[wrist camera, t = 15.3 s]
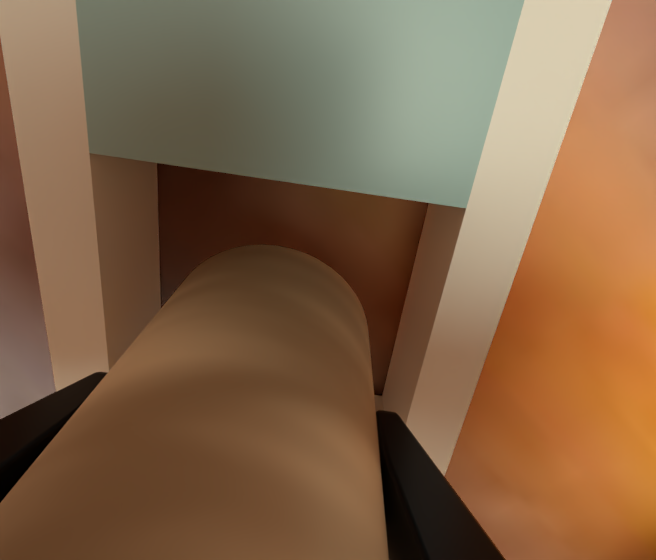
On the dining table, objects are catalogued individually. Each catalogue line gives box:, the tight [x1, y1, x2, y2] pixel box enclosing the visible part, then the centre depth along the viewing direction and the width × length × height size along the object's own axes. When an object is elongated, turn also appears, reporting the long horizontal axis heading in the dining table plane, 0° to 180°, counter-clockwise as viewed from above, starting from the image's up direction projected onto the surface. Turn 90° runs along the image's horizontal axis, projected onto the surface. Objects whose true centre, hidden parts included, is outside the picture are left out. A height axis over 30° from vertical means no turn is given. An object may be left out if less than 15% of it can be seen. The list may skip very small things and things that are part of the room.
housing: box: [0, 0, 612, 476], centre depth 10 cm, size 23×11×4 cm, turn 172°
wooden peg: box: [0, 245, 389, 560], centre depth 7 cm, size 5×5×9 cm
